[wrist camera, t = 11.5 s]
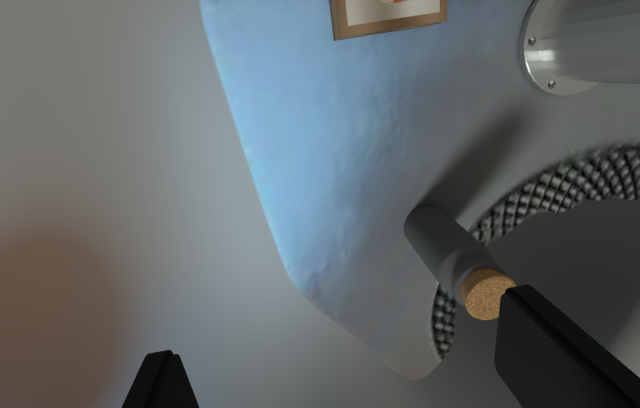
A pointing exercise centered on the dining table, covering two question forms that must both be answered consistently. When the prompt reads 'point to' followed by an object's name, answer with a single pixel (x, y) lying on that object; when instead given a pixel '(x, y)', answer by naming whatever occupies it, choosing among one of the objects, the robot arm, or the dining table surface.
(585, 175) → the dining table surface
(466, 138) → the dining table surface
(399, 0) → the pill bottle
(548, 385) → the robot arm
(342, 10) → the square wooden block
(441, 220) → the bottle
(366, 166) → the dining table surface
